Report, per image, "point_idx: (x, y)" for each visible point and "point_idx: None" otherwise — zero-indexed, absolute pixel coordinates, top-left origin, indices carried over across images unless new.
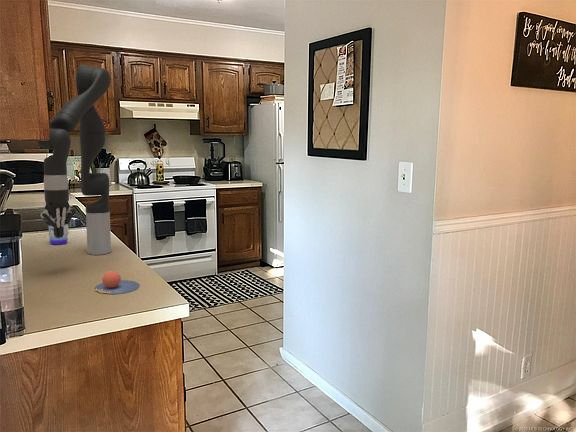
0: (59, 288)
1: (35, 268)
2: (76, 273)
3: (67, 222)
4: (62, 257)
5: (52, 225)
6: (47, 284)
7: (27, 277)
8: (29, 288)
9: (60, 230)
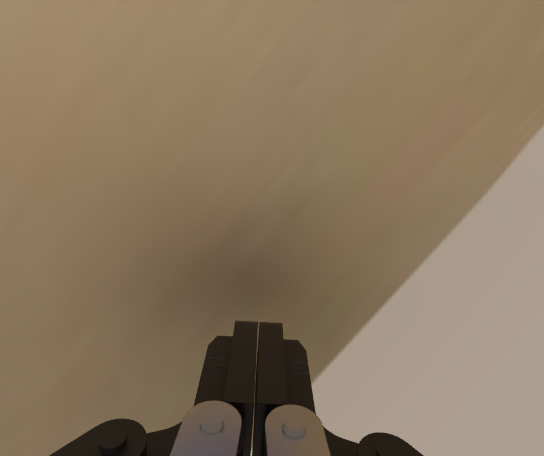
0: (446, 17)
1: None
2: (199, 173)
3: (113, 440)
4: None
5: (406, 451)
6: (417, 140)
7: (372, 317)
8: (503, 162)
9: (260, 371)
